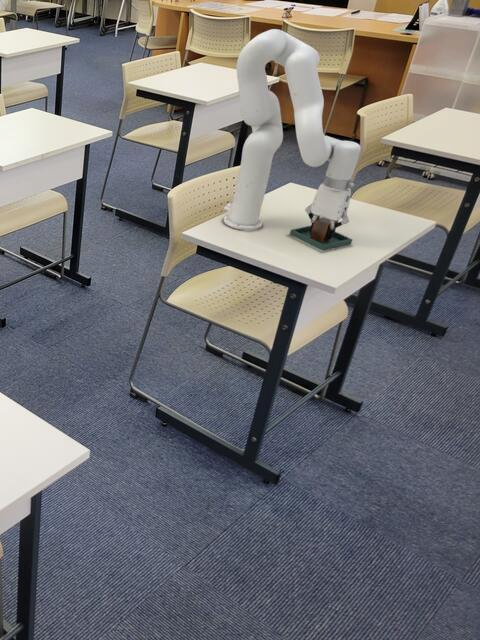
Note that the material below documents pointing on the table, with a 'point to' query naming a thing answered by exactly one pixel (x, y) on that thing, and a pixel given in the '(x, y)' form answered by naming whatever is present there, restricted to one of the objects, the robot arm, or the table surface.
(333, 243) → the tray
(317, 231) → the block
